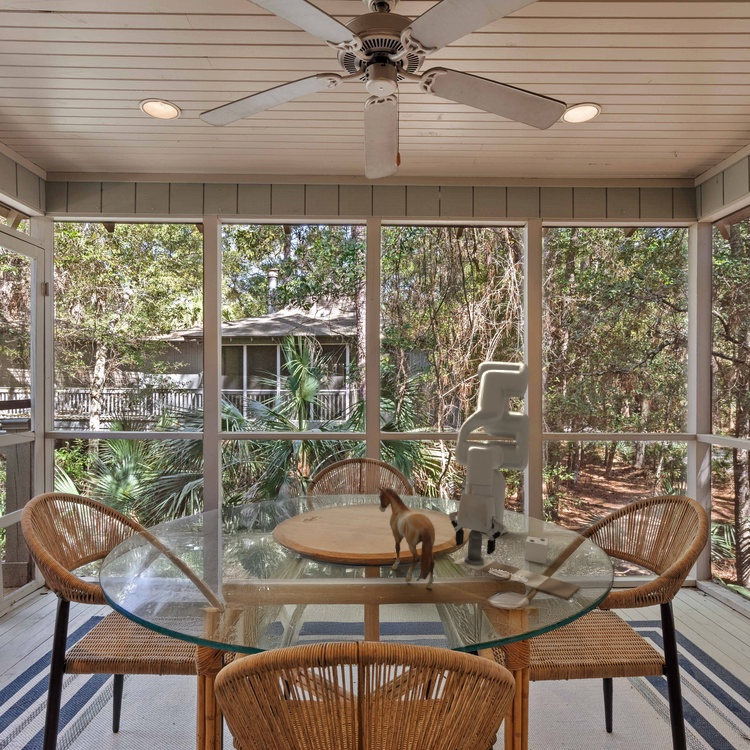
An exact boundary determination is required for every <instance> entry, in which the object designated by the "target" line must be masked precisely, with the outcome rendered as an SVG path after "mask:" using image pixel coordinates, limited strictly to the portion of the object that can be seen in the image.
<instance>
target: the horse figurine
mask: <svg viewBox="0 0 750 750" xmlns="http://www.w3.org/2000/svg"><path fill="white" fill-rule="evenodd" d="M378 490H379V491H380V493H379V495H378V497H379V498H378V499H379V501H380V502H379V508H378V509H379V510H380V512H381V513H385V512H386V509H387V508H388V507H389V506H390V507H391V516H390V518H389V519H390V520H389V526H390V530H391V531H392V536H393V538H394V541H395V546H394V547H395V549H396V553H397V558H396V559H395V562H394V563H393V565H392V566H391V569H392V570H396V571H397V570H398V567H399V564H400V562H401V561H400V553H401V543H402V540H404V539H405V541H406V543H407V544H408V550H409V551H410V553H411V554H412V556H413V560H412V563H411V564H410V567H409V568H408V570H407V574H406V578H405V582H406V583H411V581H412V575H411V574H412V573H413V572H414V569H415V567H416V565H417V564H418V563H419V562H420V573H419V575H418V578H417V579H416V582H419V581H420V580H426V579H427V577H428V576H429V578H428V579H429V580H428V582H427V583H426V585H425V588H426V589H433V587H434V584H433V583H434V580H435V579H434V569H435V564H436V563H435V560H434V555H433V549H434V545H435V541H436V530H435V526H434V524H433V522H432V521H431V519H430V518H429V517H428V516H426V514H424V513H423V514H422V513H416V512H415V513H414V512H413V511H412V510H411V509H410V508H409V507H408V506H407V505H406V504H405V503H404V501H403V499H402V498H401V497H400V495H399V494H398V493H396V491H395V490H393V489H392V488H390V487H386V488H385V487H384V486H382V488H381V487H380V486H379V487H378ZM420 543H421V555H420V556H421V557H420V556H419V553H418V550H417V546H418V545H419V544H420ZM395 549H394V550H395Z"/></svg>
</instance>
